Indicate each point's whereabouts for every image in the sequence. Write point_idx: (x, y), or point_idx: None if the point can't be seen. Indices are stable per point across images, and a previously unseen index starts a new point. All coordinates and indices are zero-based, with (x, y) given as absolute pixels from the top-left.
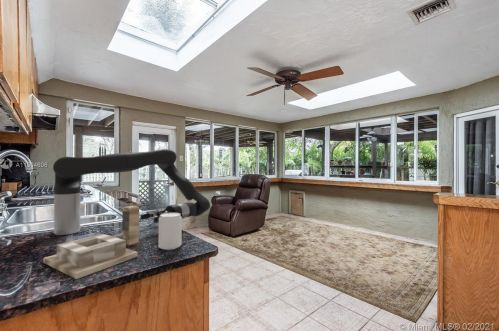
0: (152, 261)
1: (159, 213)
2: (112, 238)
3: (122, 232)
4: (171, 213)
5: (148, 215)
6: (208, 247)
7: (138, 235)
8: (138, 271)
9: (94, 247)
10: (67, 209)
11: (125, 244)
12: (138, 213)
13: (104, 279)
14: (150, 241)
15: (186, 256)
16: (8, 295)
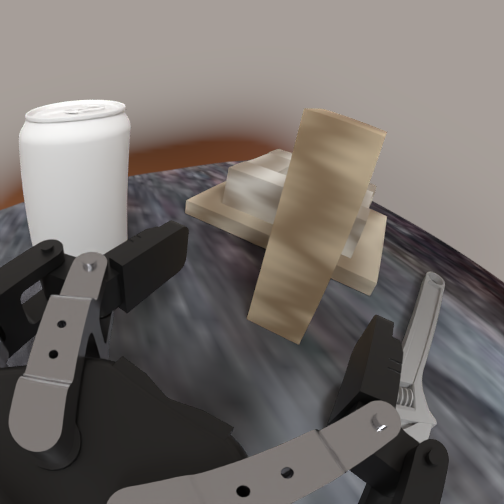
0: (135, 191)
1: (185, 412)
2: (283, 182)
3: (429, 413)
4: (58, 121)
5: (347, 397)
6: None
7: (256, 288)
8: (158, 172)
9: (277, 157)
10: None
11: (227, 179)
12: (293, 157)
13: (209, 167)
14: (187, 327)
15: None
16: None
